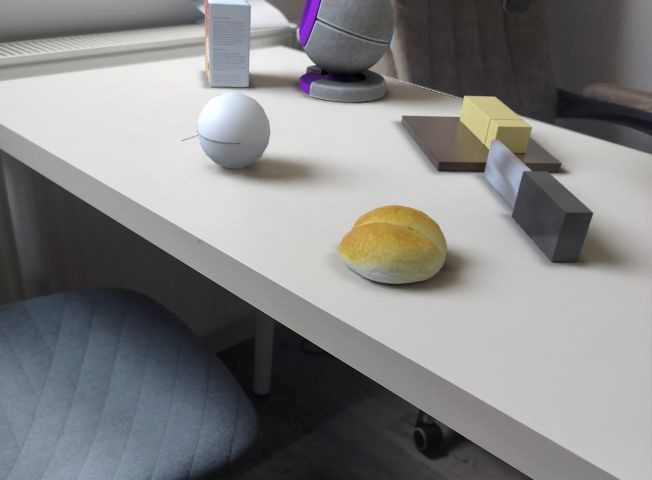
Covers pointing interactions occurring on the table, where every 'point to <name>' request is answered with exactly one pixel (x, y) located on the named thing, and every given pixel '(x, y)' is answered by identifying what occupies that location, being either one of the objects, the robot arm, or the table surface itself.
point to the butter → (484, 114)
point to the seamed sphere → (233, 130)
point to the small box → (227, 42)
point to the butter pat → (509, 134)
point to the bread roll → (394, 245)
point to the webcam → (345, 48)
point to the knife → (539, 204)
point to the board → (465, 146)
